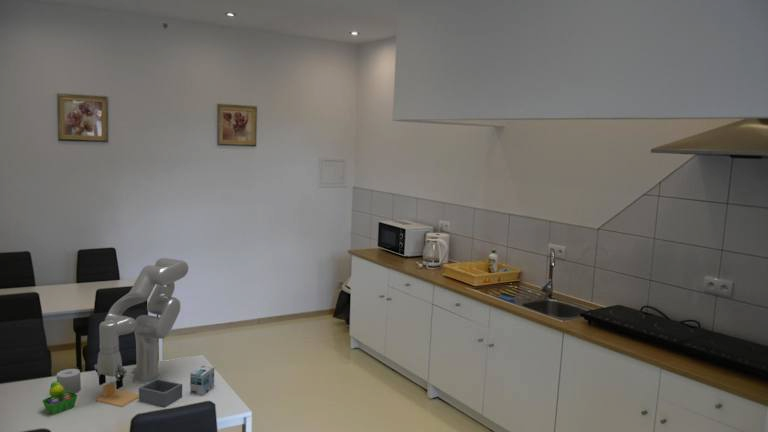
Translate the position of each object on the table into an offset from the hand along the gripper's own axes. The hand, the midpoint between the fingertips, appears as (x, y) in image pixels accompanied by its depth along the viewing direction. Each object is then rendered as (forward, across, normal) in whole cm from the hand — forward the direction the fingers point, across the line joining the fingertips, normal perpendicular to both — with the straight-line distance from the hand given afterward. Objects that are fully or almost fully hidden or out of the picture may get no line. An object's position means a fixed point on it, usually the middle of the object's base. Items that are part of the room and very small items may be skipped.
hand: (111, 385), depth 255 cm
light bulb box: (+6, +32, +22) cm, 39 cm away
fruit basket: (+6, -12, -16) cm, 21 cm away
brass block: (+5, +24, +8) cm, 26 cm away
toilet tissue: (+6, -23, -1) cm, 23 cm away
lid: (+6, +5, -1) cm, 8 cm away
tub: (+6, +22, +6) cm, 23 cm away
